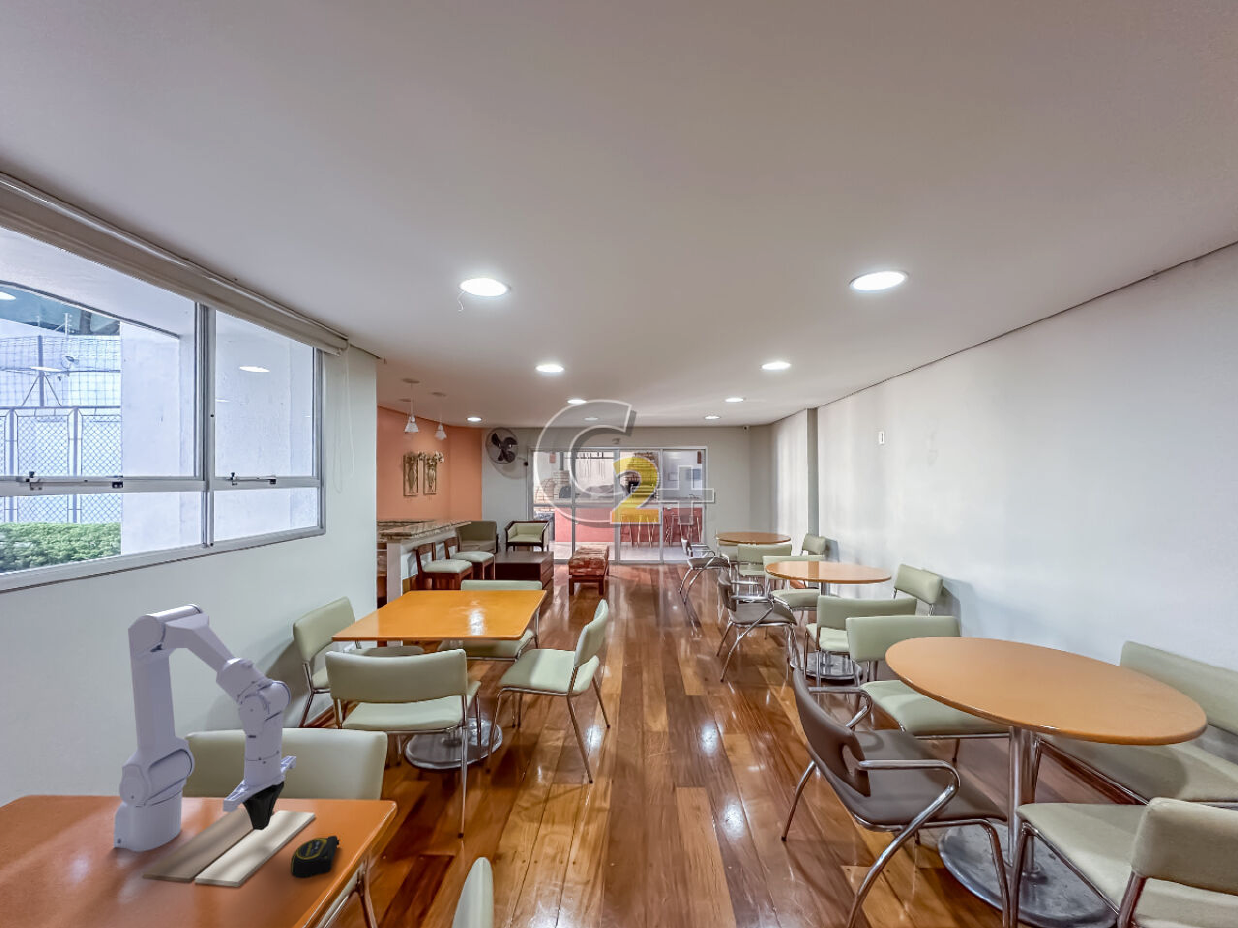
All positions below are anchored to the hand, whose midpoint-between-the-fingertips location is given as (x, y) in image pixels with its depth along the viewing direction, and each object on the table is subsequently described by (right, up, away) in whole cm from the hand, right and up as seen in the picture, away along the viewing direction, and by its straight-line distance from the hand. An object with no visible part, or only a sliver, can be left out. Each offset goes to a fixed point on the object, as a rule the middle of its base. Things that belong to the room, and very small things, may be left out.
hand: (260, 827), depth 93 cm
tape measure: (+13, -5, -4) cm, 14 cm away
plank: (0, -4, 0) cm, 4 cm away
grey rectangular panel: (-9, -5, +1) cm, 10 cm away
